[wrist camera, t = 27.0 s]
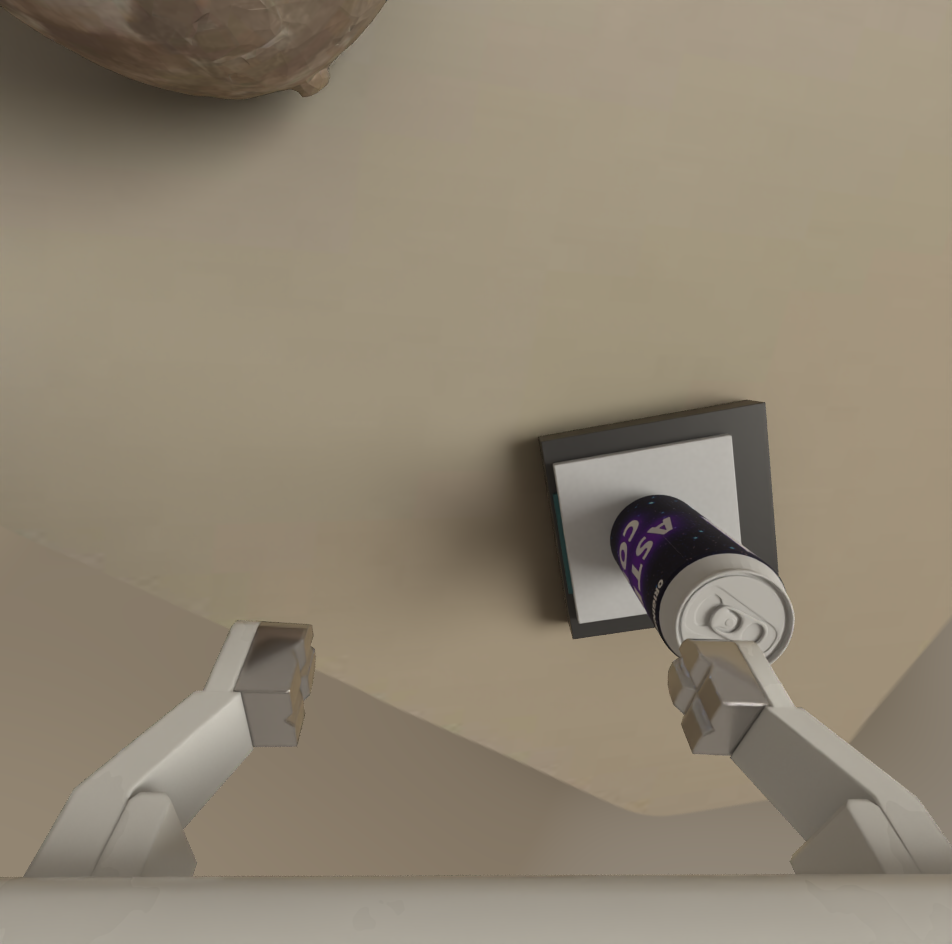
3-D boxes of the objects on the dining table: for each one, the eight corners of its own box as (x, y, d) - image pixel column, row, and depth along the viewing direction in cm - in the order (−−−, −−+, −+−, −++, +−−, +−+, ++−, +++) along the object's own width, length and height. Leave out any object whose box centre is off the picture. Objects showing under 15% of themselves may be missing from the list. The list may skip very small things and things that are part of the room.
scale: (568, 622, 38) (574, 645, 35) (538, 436, 36) (541, 443, 33) (763, 593, 37) (787, 615, 34) (747, 399, 35) (772, 403, 32)
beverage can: (636, 475, 33) (713, 537, 21) (714, 516, 33) (833, 600, 21) (590, 551, 34) (639, 650, 22) (666, 589, 34) (754, 708, 22)
